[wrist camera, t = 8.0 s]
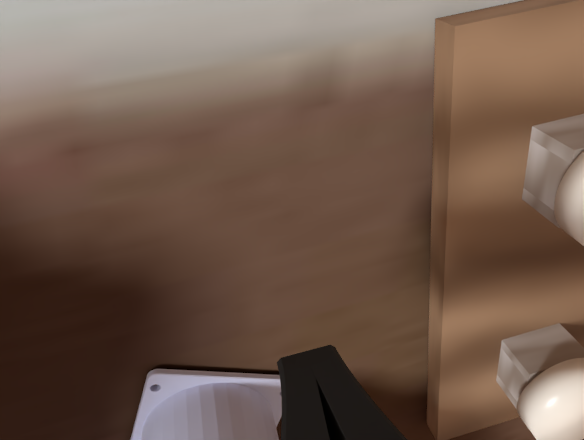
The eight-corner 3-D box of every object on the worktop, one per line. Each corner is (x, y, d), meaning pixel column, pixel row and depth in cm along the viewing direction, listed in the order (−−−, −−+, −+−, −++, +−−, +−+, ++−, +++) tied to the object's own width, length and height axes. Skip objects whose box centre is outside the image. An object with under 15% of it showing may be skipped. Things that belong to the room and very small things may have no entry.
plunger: (561, 372, 30) (612, 430, 27) (487, 395, 30) (529, 457, 26) (576, 314, 28) (634, 370, 24) (494, 338, 27) (542, 399, 24)
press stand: (573, 378, 34) (617, 427, 31) (426, 423, 33) (456, 479, 30) (687, -34, 20) (792, -23, 17) (435, 18, 19) (494, 41, 15)
